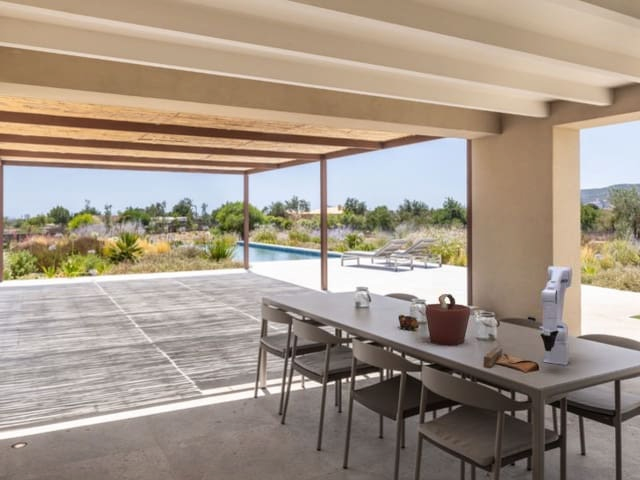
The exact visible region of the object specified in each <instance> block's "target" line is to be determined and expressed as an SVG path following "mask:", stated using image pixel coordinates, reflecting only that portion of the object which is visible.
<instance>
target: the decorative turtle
mask: <svg viewBox="0 0 640 480" xmlns="http://www.w3.org/2000/svg"><path fill="white" fill-rule="evenodd" d="M398 322H399V326H400V329H402V330H403V329H405V330H406V331H410V330H409V329H410V328H411V330H414V329H419V326H420V325H419V324H418V320H417V319H416V318H415V317H414V316H411V315H406V316H405V315H404V314H400V315H398Z"/></svg>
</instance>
